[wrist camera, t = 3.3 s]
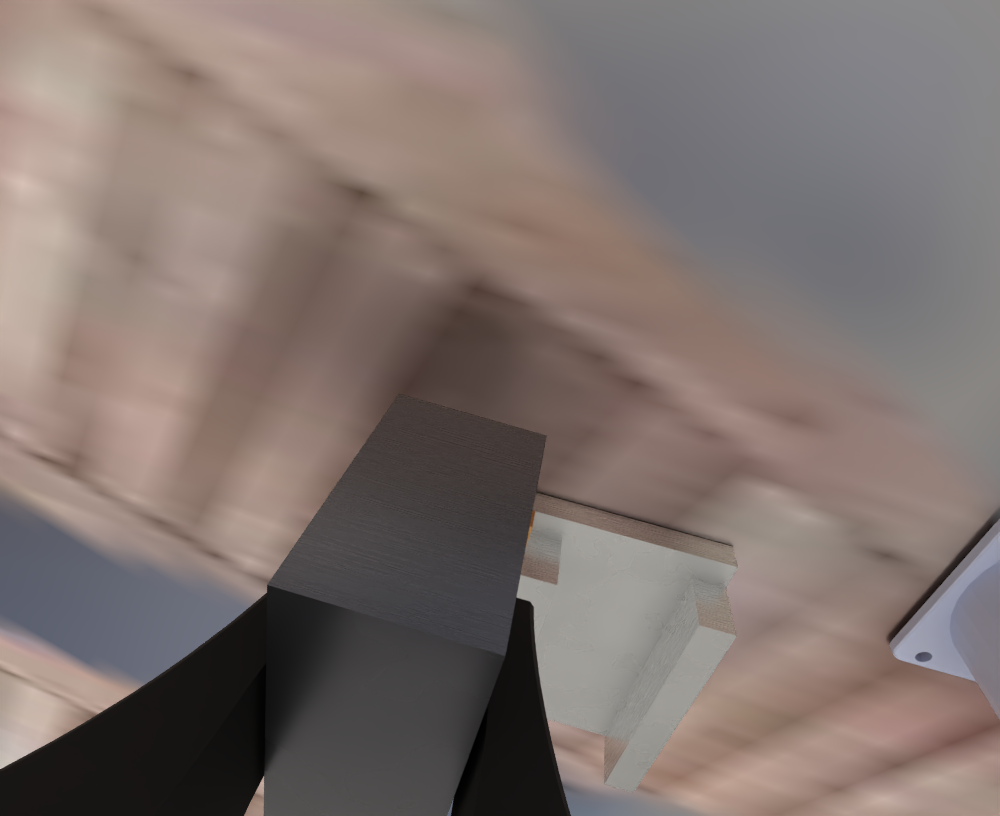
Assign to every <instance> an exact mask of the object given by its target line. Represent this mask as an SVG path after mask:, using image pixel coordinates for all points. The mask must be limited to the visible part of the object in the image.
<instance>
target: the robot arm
mask: <svg viewBox="0 0 1000 816" xmlns="http://www.w3.org/2000/svg"><path fill="white" fill-rule="evenodd" d="M266 639H267V593H266V594H265V595H264V596H262V597H261V598H260V599H259V600H258V601H256V602H255V603H254V604H253V605H252V606H250V607H249V608H248V609H247V610H246V611H244V612H243V613H242V614H241V615H240V616H238V617H237V618H236V619H235V620H234V621H232V622H231V623H230V624H229V625H227V626H226V627H225V628H223V629H222V630H221V631H219V632H218V633H217V634H215V635H214V636H213V637H211V638H210V639H209V640H208V641H206V642H205V643H203V644H202V645H201V646H199V647H198V648H197V649H195V650H194V651H193V652H192V653H190V654H189V655H188V656H186V657H185V658H183V659H182V660H180V661H179V662H178V663H176V664H175V665H173V666H172V667H170V668H169V669H168V670H166V671H165V672H163V673H162V674H160V675H159V676H157V677H156V678H154V679H153V680H151V681H150V682H148V683H147V684H145V685H144V686H142V687H141V688H139V689H138V690H136V691H135V692H133V693H132V694H130V695H129V696H127V697H125V698H124V699H122V700H121V701H119V702H117V703H116V704H114V705H112V706H111V707H109V708H108V709H106V710H104V711H103V712H101V713H99V714H98V715H96V716H95V717H93V718H91V719H90V720H88V721H86V722H85V723H83V724H81V725H80V726H78V727H76V728H75V729H73V730H71V731H69V732H68V733H66V734H64V735H62V736H61V737H59V738H57V739H55V740H54V741H52V742H50V743H48V744H46V745H45V746H43V747H41V748H39V749H37V750H35V751H33V752H32V753H30V754H28V755H26V756H24V757H22V758H20V759H19V760H17V761H15V762H13V763H11V764H9V765H7V766H6V767H4V768H2V769H0V816H244V814H245V812H246V810H247V808H248V806H249V804H250V802H251V800H252V798H253V796H254V794H255V792H256V790H257V788H258V786H259V784H260V782H261V780H262V778H263V776H264V768H265V704H266ZM889 645H890V649H891V651H892V653H893V655H894V656H895V657H896V658H897V659H899V660H901V661H905V662H908V663H912V664H915V665H919V666H922V667H926V668H930V669H933V670H937V671H940V672H944V673H947V674H951V675H955V676H958V677H962V678H965V679H969V680H972V681H976V682H977V684H978V685H979V687H980V689H981V690H982V692H983V694H984V695H985V697H986V698H987V700H988V702H989V703H990V705H991V707H992V708H993V710H994V712H995V713H996V715H997V716H998V718H999V720H1000V519H999V520H998V521H997V522H996V523H995V524H994V526H993V527H992V528H991V529H990V530H989V531H988V532H987V533H986V535H985V536H984V537H983V538H982V539H981V540H980V541H979V542H978V544H977V545H976V546H975V547H974V548H973V549H972V550H971V551H970V553H969V554H968V555H967V556H966V557H965V558H964V559H963V561H962V562H961V563H960V564H959V565H958V566H957V567H956V568H955V570H954V571H953V572H952V573H951V574H950V575H949V576H948V577H947V579H946V580H945V581H944V582H943V583H942V584H941V585H940V587H939V588H938V589H937V590H936V591H935V592H934V593H933V594H932V596H931V597H930V598H929V599H928V600H927V601H926V602H925V603H924V605H923V606H922V607H921V608H920V609H919V610H918V611H917V612H916V614H915V615H914V616H913V617H912V618H911V619H910V620H909V622H908V623H907V624H906V625H905V626H904V627H903V628H902V629H901V631H900V632H899V633H898V634H897V635H896V636H895V637H894V638H893V640H892V641H891V643H890V644H889ZM451 816H571V815H570V811H569V808H568V804H567V801H566V797H565V793H564V790H563V786H562V782H561V778H560V774H559V771H558V766H557V762H556V758H555V754H554V749H553V745H552V741H551V736H550V731H549V727H548V722H547V717H546V711H545V706H544V700H543V694H542V689H541V683H540V676H539V669H538V661H537V653H536V643H535V631H534V606H533V605H532V603H531V602H530V601H527V600H523V599H520V598H517V597H516V602H515V607H514V613H513V618H512V623H511V629H510V634H509V640H508V645H507V650H506V656H505V659H504V661H503V664H502V667H501V670H500V672H499V675H498V678H497V680H496V683H495V686H494V689H493V691H492V694H491V697H490V700H489V702H488V705H487V708H486V711H485V713H484V716H483V719H482V721H481V724H480V727H479V730H478V732H477V735H476V738H475V741H474V743H473V746H472V749H471V751H470V754H469V757H468V760H467V762H466V765H465V768H464V771H463V773H462V776H461V779H460V782H459V784H458V787H457V790H456V792H455V795H454V799H453V807H452V813H451Z"/></svg>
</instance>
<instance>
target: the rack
mask: <svg viewBox="0 0 1000 816" xmlns="http://www.w3.org/2000/svg"><path fill="white" fill-rule="evenodd" d="M737 568H738V565H737V561H736V558H735V554H734V550H733V547H732V546H728V545H725V544H721V543H718V542H714V541H710V540H707V539H703V538H699V537H696V536H692V535H689V534H685V533H681V532H678V531H674V530H670V529H667V528H663V527H660V526H656V525H652V524H649V523H645V522H641V521H638V520H634V519H631V518H627V517H623V516H620V515H616V514H612V513H609V512H605V511H601V510H598V509H594V508H591V507H587V506H583V505H580V504H576V503H572V502H569V501H565V500H562V499H558V498H554V497H551V496H547V495H543V494H540V493H536V495H535V500H534V506H533V511H532V517H531V522H530V527H529V533H528V538H527V543H526V549H525V554H524V559H523V565H522V570H521V575H520V581H519V586H518V591H517V598H520V599H523V600H527V601H530V602H531V603H532V605H533V606H534V631H535V643H536V653H537V661H538V669H539V676H540V683H541V689H542V694H543V700H544V706H545V711H546V717H547V719H549V720H552V721H556V722H559V723H562V724H566V725H569V726H573V727H576V728H580V729H583V730H586V731H590V732H593V733H597V734H600V735H604V736H605V757H604V784H605V785H608V786H612V787H615V788H619V789H622V790H625V791H629V792H632V793H633V792H634V791H635V789H636V788H637V786H638V785H639V783H640V782H641V780H642V779H643V777H644V776H645V774H646V773H647V771H648V770H649V768H650V767H651V765H652V764H653V762H654V761H655V759H656V758H657V756H658V755H659V753H660V752H661V750H662V749H663V747H664V746H665V744H666V743H667V741H668V739H669V738H670V736H671V735H672V733H673V732H674V730H675V729H676V727H677V726H678V724H679V723H680V721H681V720H682V718H683V717H684V715H685V714H686V712H687V711H688V709H689V708H690V706H691V705H692V703H693V702H694V700H695V699H696V697H697V696H698V694H699V693H700V691H701V690H702V688H703V687H704V685H705V683H706V682H707V680H708V679H709V677H710V676H711V674H712V673H713V671H714V670H715V668H716V667H717V665H718V664H719V662H720V661H721V659H722V658H723V656H724V655H725V653H726V652H727V650H728V649H729V647H730V646H731V644H732V643H733V641H734V640H735V638H736V637H737V634H736V630H735V625H734V621H733V616H732V612H731V608H730V603H729V599H728V595H727V590H726V587H727V585H728V583H729V582H730V580H731V578H732V577H733V575H734V573H735V572H736V570H737Z"/></svg>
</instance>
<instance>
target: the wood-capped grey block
mask: <svg viewBox="0 0 1000 816" xmlns="http://www.w3.org/2000/svg"><path fill="white" fill-rule="evenodd" d="M545 442H546V436H545V435H542V434H538V433H535V432H531V431H528V430H524V429H521V428H517V427H514V426H510V425H507V424H503V423H500V422H496V421H493V420H489V419H486V418H482V417H479V416H475V415H472V414H468V413H465V412H461V411H458V410H454V409H451V408H447V407H444V406H440V405H437V404H433V403H430V402H426V401H423V400H419V399H416V398H412V397H409V396H405V395H402V394H399V395H398V396H397V398H396V399H395V400H394V402H393V403H392V405H391V406H390V408H389V409H388V411H387V412H386V414H385V415H384V416H383V418H382V419H381V421H380V422H379V424H378V425H377V427H376V428H375V429H374V431H373V432H372V434H371V435H370V437H369V438H368V440H367V441H366V443H365V444H364V445H363V447H362V448H361V450H360V451H359V453H358V454H357V456H356V457H355V458H354V460H353V461H352V463H351V464H350V466H349V467H348V469H347V470H346V472H345V473H344V474H343V476H342V477H341V479H340V480H339V482H338V483H337V485H336V486H335V487H334V489H333V490H332V492H331V493H330V495H329V496H328V498H327V499H326V501H325V502H324V503H323V505H322V506H321V508H320V509H319V511H318V512H317V514H316V515H315V516H314V518H313V519H312V521H311V522H310V524H309V525H308V527H307V528H306V530H305V531H304V532H303V534H302V535H301V537H300V538H299V540H298V541H297V543H296V544H295V545H294V547H293V548H292V550H291V551H290V553H289V554H288V556H287V557H286V559H285V560H284V561H283V563H282V564H281V566H280V567H279V569H278V570H277V572H276V573H275V574H274V576H273V577H272V579H271V580H270V582H269V583H268V585H267V639H266V704H265V768H264V816H447V814H448V811H449V809H450V806H451V803H452V800H453V798H454V795H455V792H456V790H457V787H458V784H459V782H460V779H461V776H462V773H463V771H464V768H465V765H466V762H467V760H468V757H469V754H470V751H471V749H472V746H473V743H474V741H475V738H476V735H477V732H478V730H479V727H480V724H481V721H482V719H483V716H484V713H485V711H486V708H487V705H488V702H489V700H490V697H491V694H492V691H493V689H494V686H495V683H496V680H497V678H498V675H499V672H500V670H501V667H502V664H503V661H504V659H505V656H506V650H507V645H508V640H509V634H510V629H511V623H512V618H513V613H514V607H515V602H516V597H517V591H518V586H519V581H520V575H521V570H522V565H523V559H524V554H525V549H526V543H527V538H528V533H529V527H530V522H531V517H532V511H533V506H534V500H535V495H536V490H537V484H538V479H539V474H540V468H541V463H542V458H543V452H544V447H545Z"/></svg>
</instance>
